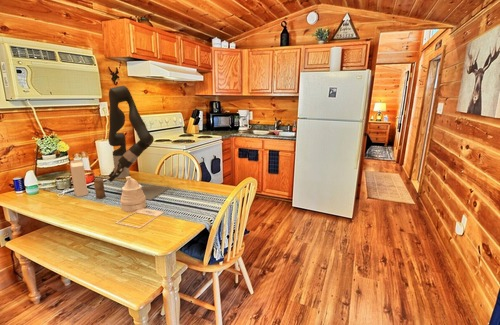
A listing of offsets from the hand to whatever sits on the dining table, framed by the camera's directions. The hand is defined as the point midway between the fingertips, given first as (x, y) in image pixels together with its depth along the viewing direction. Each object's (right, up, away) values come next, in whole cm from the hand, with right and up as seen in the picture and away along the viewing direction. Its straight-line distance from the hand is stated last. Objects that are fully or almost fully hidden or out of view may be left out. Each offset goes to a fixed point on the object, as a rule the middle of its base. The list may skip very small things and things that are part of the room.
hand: (109, 178), depth 156 cm
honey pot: (+20, -15, -12) cm, 28 cm away
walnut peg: (-5, -11, 0) cm, 12 cm away
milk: (-20, -10, +4) cm, 23 cm away
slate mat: (+20, -9, +9) cm, 24 cm away
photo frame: (+30, -19, -25) cm, 43 cm away
